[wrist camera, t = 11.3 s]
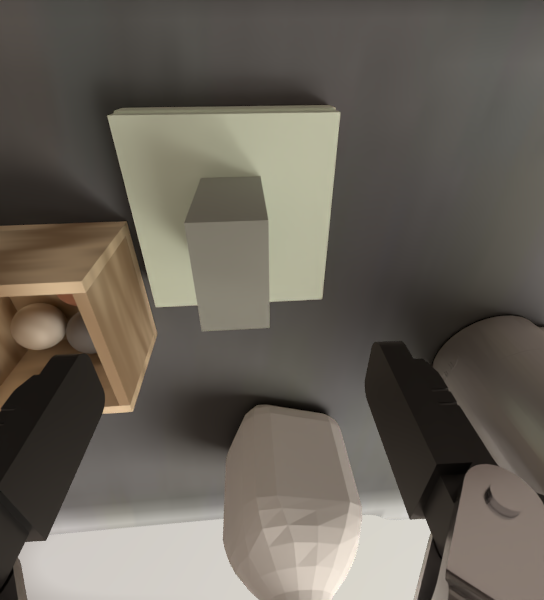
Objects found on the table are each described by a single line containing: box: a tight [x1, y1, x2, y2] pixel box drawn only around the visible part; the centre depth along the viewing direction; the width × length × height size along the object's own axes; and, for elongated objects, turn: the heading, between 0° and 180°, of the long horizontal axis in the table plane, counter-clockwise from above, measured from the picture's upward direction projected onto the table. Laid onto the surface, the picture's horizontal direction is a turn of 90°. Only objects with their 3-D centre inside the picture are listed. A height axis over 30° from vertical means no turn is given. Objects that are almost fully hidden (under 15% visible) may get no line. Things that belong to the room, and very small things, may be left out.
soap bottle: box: [223, 404, 362, 600], centre depth 24 cm, size 10×10×23 cm
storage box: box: [0, 221, 157, 414], centre depth 20 cm, size 9×9×7 cm
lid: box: [107, 105, 340, 331], centre depth 17 cm, size 11×11×8 cm
